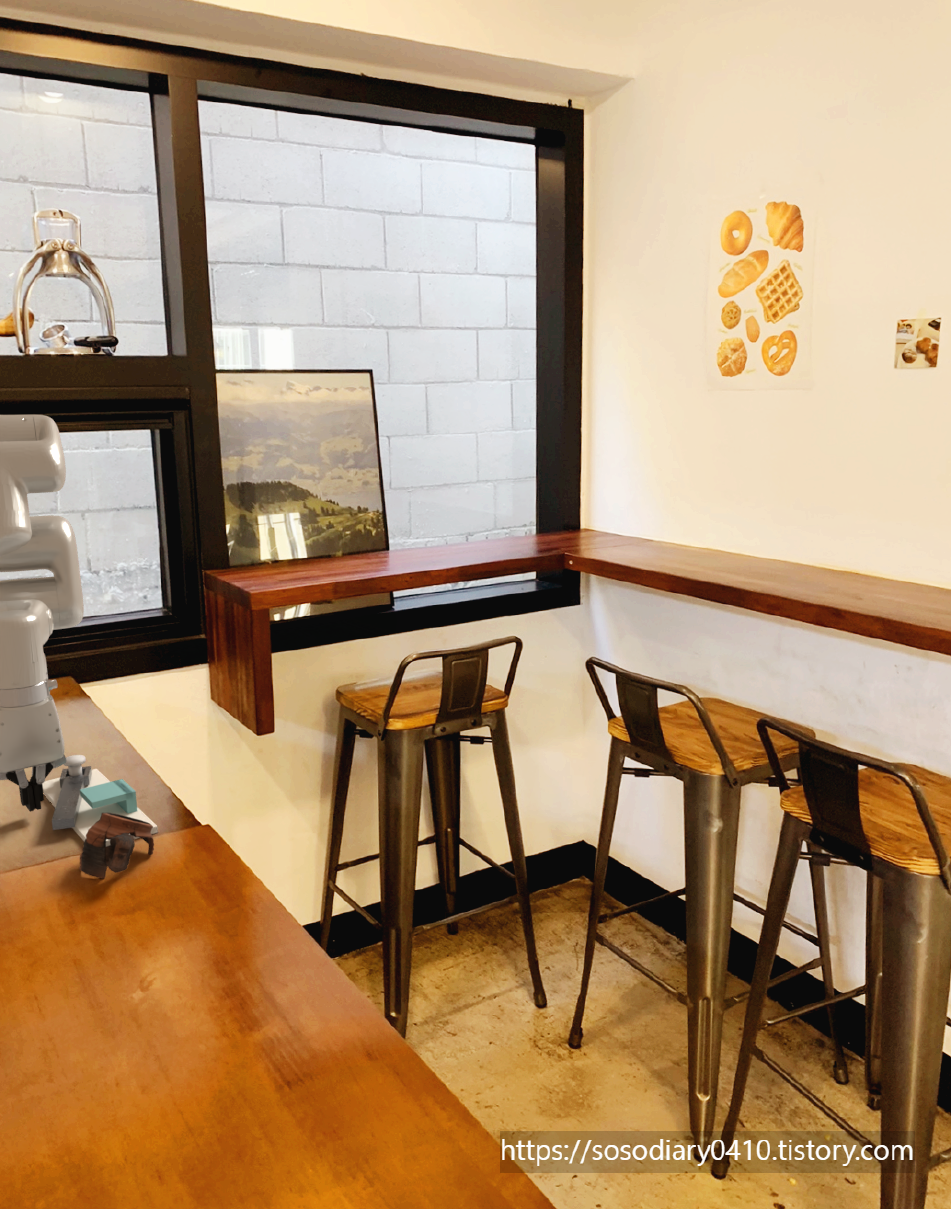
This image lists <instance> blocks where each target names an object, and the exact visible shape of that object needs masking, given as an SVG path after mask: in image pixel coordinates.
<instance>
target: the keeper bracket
mask: <svg viewBox="0 0 951 1209" xmlns="http://www.w3.org/2000/svg"><path fill="white" fill-rule="evenodd" d="M80 796H81V797H82V798H83V799H84V800H85V801H86V802H87V803H88V804H89V805H90V806H91V807H92V809H94V808H98V807H102V806H105V805H109V804H113V803H117V804H118V805H119V806H120V807H121V808H122V809H123V810H124V811H125V812H126V813H127V814H129V813H132V812H136V811H137V807H138V803H137V791H136V790H135V789H134V788H133V787H132V786H131V785H129V783H127V782H126V781H125V780H124V779H123V778H120V779H117V780H113V781H110V782H108V783H104V784H100V785H96V786H92V787H88V788H84V789H80Z"/></svg>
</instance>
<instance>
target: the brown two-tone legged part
mask: <svg viewBox="0 0 951 1209" xmlns="http://www.w3.org/2000/svg"><path fill="white" fill-rule="evenodd" d="M152 828H153V826H152V825H151V824H150V823H148V822H145V821H142V820H138V819H134V818H131V817H127V816H123V815H119V814H114V813H108V812H105V813H104V812H103V813H102V814H101V818H100V820H99V821H97V822H96V823H95V824H94V825H93V826H92V827H91V828H90V829H89V830H88V832H87V834H86V839H85V842H84V841H83V847H82V852H81V853H80V855H79V867H78V870H80V871H81V872H83V873H84V874H85V875H88V876H90V877H94V878H99V879H102V880H104V879H105V878H106V871H107V868H108V870H110V871H111V872H113V873H120V872H124V871H126V870H127V869H128V867H129V864H130V860H131V856H132V854H133V851H134V848H135V846H136V844H135V839H134V837H133V836H135V837H140V838H141V839H142V840H143V841H144V842H145V843H147V845H148V849H147V850H148V851H147V852H148V853H147V854H148V855H149V856H152V855H153V854H154V850H155V842H154V837H153V834H151V830H152ZM140 838H139V839H140ZM106 839H108V840H110V845H109V846H106Z"/></svg>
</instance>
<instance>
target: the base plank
mask: <svg viewBox="0 0 951 1209" xmlns="http://www.w3.org/2000/svg"><path fill="white" fill-rule="evenodd" d="M65 757H66V760H67V761H66V763H65V764H63V765H62V766H65V767H68V768H67V769H69V776H78V775H82V767H83V766H82V765H83V764H85V763H86V759H87V758H86V756H85V755H83V754H73V755H69V756H65ZM91 770H92V776H91V780H90V785H85V787H84V788H88V787H92V786H96V785H100V784H104V783H108V782H111V781H110V779H108V778H107V777H106V776H105V775H104V774H103V773H102V772H101V771H100V770H99V769H98V768H93V769H91ZM42 785H43V793H44V795H45V796H46V797H45V796H44V797H45V798H46V799H47V800H48V802H49V803H50V802H51V803H52V804H51V803H50V804H51V805H52V806H53V807H54V809H55V808H56V805H57V801H58V798H59V795H60V791H61V788H60V777H56V778H52V779H49V780H45V781H44V783H43V784H42ZM103 812H104V813H105V812H108V813H114V814H119V815H123V816H127V817H131V818H134V819H138V820H142V821H145V822H148V823H150V824H151V825H152V826H153V828H152V830H151V835H154V834H157V833H159V828H158V825H157V824H156V823H155V822H154V821H153V820H152V819H151V818H149V816H148V815H146V814H145V813H144V812H143V810H141V809H140V808H139V807H138V806H137V811H136V812H132V813H129V814H127V813H126V812H125V811H124V810H123V809H122V808H121V807H120V806H119V805H118V804H117V803H113V804H109V805H105V806H102V807H98V808H94V809H92V807H91V806H90V805H89V804H88V803H87V802H86V801H85V800H84V799H83V798H82V799H81V804H80V808H79V812H78V816H77V820H76V824H75V827H73V828H72V829H73V831H74V832H75V833H76V834H77V835H78V836H79V838H80V839H81V840H82V841H83V843H84V842H85V839H86V834H87V832H88V830H89V829H90V828H91V827H92V826H93V825H94V824H95V823H96V822H97V821H99V820H100V818H101V814H102V813H103ZM133 837H134V840H138V839H140V837H135V836H133ZM109 845H110V840H108V839H106V846H109Z"/></svg>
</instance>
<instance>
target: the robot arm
mask: <svg viewBox="0 0 951 1209" xmlns="http://www.w3.org/2000/svg"><path fill="white" fill-rule="evenodd" d="M65 458H66V457H65V454H64V449H63V444H62V439H61V435H60V431H59V427H58V425H57V423H56V422H55V421H54V419H53V418H51V417H50V416H47V415H43V414H0V573H14V572H26V571H39V570H48V571H49V572H51V573H52V574H53V576H43V577H41V576H40V577H34V578H33V577H30V578H29V577H28V578H15V579H4V580H0V781H5V780H6V781H7V780H8V781H9V782H11V783H13V784H15V785H17V786H18V789H19V799H20V803H21V805H22V807H25V808H27V810H28V811H29V812H30V813H31V812H34V811H35V810H37V811H40V810H42V803H41V802H44V801H45V796H44V794H43V785H42V784H43V783H44V781H46V778H47V777H48V776H49V775H50V773H51V772H52V771H53V770H54V769H56V768H57V769H58V767H61V766H64V765H63V764H65V763H66V761H67V760H66V757H67V756H66V755H65V740H64V736H63V731H62V726H61V725H62V724H61V721H60V716H59V713H58V709H57V706H56V703H55V699H54V697H53V696H52V695H51V691H53V689H58V682H57V679H49V675H48V668H47V667H48V664H47V659H46V658H47V657H46V654H45V653H44V645H45V644H46V643H47V642H48V640H49V637H50V636H51V635H52V634H53V631H54V630H62V629H70V628H74V627H76V626H78V625H79V624H80V623H81V622H82V621H83V618H84V612H85V611H84V610H85V608H84V597H83V596H84V595H83V589H82V588H83V587H82V580H81V579H82V578H81V570H80V563H79V555H78V553H79V552H78V546H77V541H76V535H75V531H74V527H73V526H72V524H71V523H70V521H69V520H68V519H67V518H65V517H63V516H60V515H55V514H54V515H53V514H51V515H34V516H33V515H32V516H31V515H30V509H29V501H28V500H29V499H28V494H42V493H43V494H44V493H45V494H46V493H48V494H49V493H57V492H59V491H61V490H62V489H63V487H64V486H65V483H66V473H67V470H66V469H67V468H66V459H65ZM29 768H31V777H30V779H28V777H27V775H26V774H27V773H26V771H25V769H29Z"/></svg>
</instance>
